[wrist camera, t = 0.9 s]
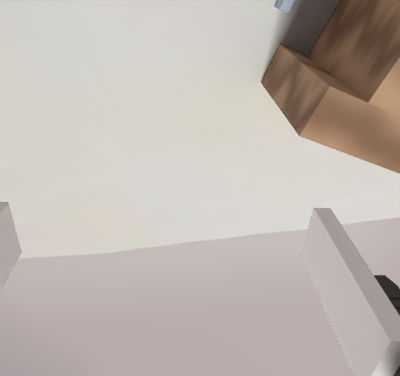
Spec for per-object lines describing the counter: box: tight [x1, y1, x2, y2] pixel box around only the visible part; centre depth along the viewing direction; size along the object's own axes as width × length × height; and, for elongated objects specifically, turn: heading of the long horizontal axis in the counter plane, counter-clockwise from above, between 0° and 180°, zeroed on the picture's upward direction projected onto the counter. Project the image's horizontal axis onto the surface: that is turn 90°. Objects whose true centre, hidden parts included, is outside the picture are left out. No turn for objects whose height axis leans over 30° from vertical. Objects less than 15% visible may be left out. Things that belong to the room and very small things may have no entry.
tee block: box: [261, 0, 400, 173], centre depth 33 cm, size 14×12×14 cm
